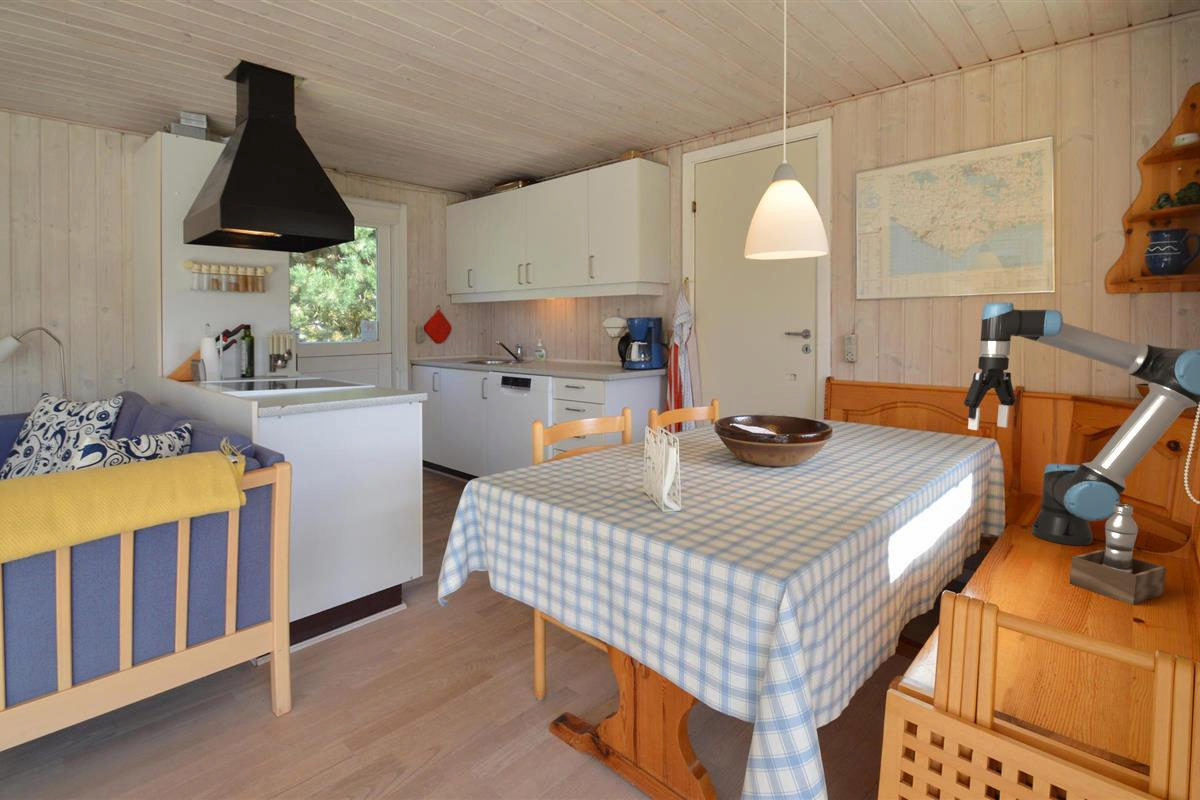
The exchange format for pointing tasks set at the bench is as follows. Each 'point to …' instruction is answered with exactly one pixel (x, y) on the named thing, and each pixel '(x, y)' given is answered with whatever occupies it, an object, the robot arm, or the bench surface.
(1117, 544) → the plastic bottle
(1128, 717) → the bench surface
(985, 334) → the robot arm
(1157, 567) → the walnut bottle box
